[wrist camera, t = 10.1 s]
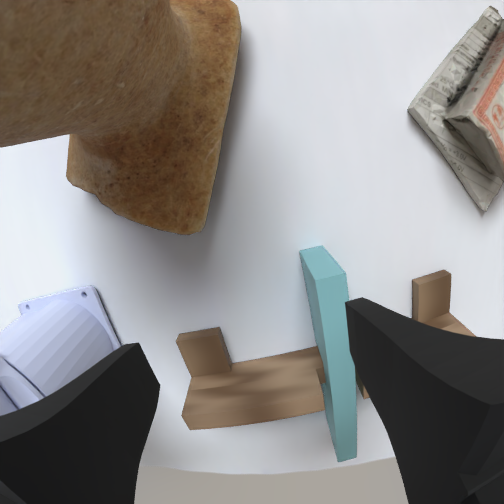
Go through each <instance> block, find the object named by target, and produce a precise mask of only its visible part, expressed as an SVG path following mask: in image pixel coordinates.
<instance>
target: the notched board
mask: <svg viewBox="0 0 504 504" xmlns="http://www.w3.org/2000/svg"><path fill="white" fill-rule="evenodd" d="M450 293H451V274H450V273H449V272H447V271H446V270H441V271H438V272H435V273H432V274H429V275H426V276H423V277H419V278H416V279H413V280H412V318H411V319H413V320H416V321H418V322H421V323H424V324H427V325H429V326H432V327H436V328H439V329H443V330H447V331H451V332H454V333H459V334H463V335H469V336H475V335H474V334H473V333H472V332H471V331H470V330H469V329H468V328H466V327H465V326H464V325H463V324H462V323H461V322H460V321H458V320H457V319H456V318H455V317H454V316H453V315H452V314H450V313H449V309H450ZM475 337H476V336H475ZM176 343H177V345H178V348H179V350H180V352H181V355H182V357H183V359H184V361H185V364H186V366H187V368H188V370H189V373H190V375H191V377H192V378H191V381H190V385H189V389H188V393H187V396H186V400H185V404H184V408H183V411H182V415H181V416H182V418H183V419H184V421H185V423H186V424H187V426H188V428H189V429H190V430H198V429H211V428H222V427H232V426H240V425H248V424H255V423H262V422H268V421H274V420H280V419H285V418H290V417H296V416H300V415H305V414H310V413H314V412H318V411H323V410H325V405H324V398H323V392H322V389H321V385H320V384H323V383H326V380H325V373H324V366H323V361H322V358H321V355H320V352H319V349H318V346H315V347H311V348H307V349H303V350H298V351H294V352H289V353H285V354H280V355H275V356H270V357H265V358H260V359H255V360H249V361H244V362H238V363H232V362H231V359H230V356H229V354H228V351H227V348H226V345H225V342H224V339H223V336H222V333H221V330H220V327H217V328H211V329H206V330H200V331H194V332H188V333H182V334H179V335H178V338H177V340H176ZM355 380H356V382H357V384H358V387H359V389H360V391H361V394H362V396H363V398H364V399H366V398H369V395H368V393H367V391H366V389H365V387H364V385H363V383H362V381H361V379H360V377H359V375H358V373H357V370H356V368H355Z"/></svg>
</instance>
